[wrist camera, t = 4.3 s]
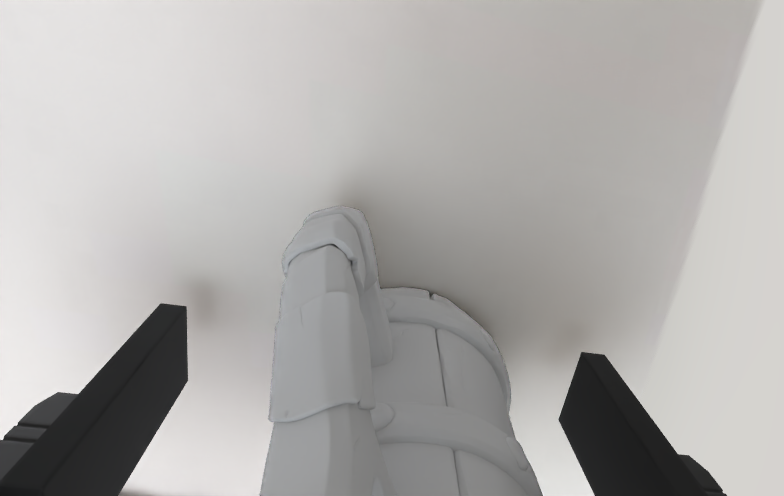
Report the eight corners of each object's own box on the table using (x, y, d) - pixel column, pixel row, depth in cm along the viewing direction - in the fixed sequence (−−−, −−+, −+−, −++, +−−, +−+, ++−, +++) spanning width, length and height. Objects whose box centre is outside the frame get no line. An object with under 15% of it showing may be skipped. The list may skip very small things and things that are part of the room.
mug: (333, 462, 20) (267, 970, 9) (225, 199, 16) (-161, 542, 5) (513, 424, 19) (685, 921, 8) (452, 138, 15) (640, 369, 4)
